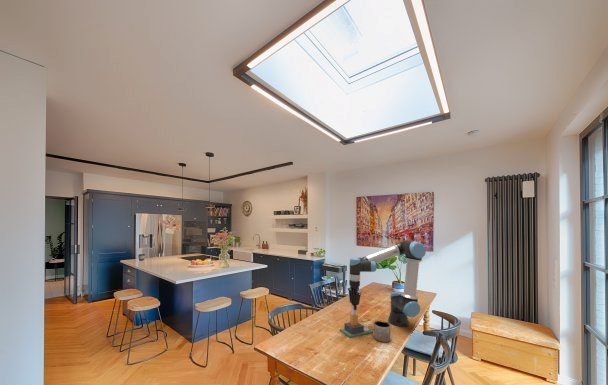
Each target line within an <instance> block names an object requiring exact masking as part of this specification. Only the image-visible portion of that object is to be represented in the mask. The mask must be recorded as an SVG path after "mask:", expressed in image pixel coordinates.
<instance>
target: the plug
mask: <svg viewBox="0 0 608 385" xmlns="http://www.w3.org/2000/svg"><path fill="white" fill-rule="evenodd" d="M349 322H350V325H351V326H352V327H353V326H358V323H359V315H358V314H357V313H356V314H355V315H353V314H352V313H350V316H349Z"/></svg>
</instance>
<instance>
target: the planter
mask: <svg viewBox="0 0 608 385" xmlns="http://www.w3.org/2000/svg"><path fill="white" fill-rule="evenodd" d="M373 338H374V339H375V340H376V341H377V342H381V343H389V342H390V341H391V323H390V322H386V321H384V320H377V321H376V320H375V321H374V322H373Z"/></svg>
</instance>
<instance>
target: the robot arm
mask: <svg viewBox="0 0 608 385" xmlns="http://www.w3.org/2000/svg"><path fill="white" fill-rule="evenodd" d="M426 251H427V249H426V247H425V246H424V244H423V243H421V242H419V241H414V240H408V239H406V240H402V241H399V242H396V243H393V244H392V246H390V247H387V248H386V247H385V248H384V249H381V250H378V251H376V252H373V253H370V254H368V255H366V256H363V257H351V258H350V259H349V280H348V281H349V287H348V288H347V291H348V298H349V303H350V304H351V314H353V315H355V314H357V310H358V307H357V306H359V305H360V300H361V296H362V291H360V286H361V281H360V280H361V273H362V272H363V273H366V272H367V273H375V272H376V271H377V268H378V267H377V263H380V262H382V261H385V260H388V259H391V258H393V257H395V256H397V257H399V256H404V258H405V259H406V266H405V276H404V286H403V291H391V293H390V312H389V316H388V323H389V324H390V325H394V326H396V327H407V326H409V324H410V320H409V318H415V317H417V316H418V315H419V314H420V313H421V306H420V304H419V300H418V299H419V298H418V296H417V288H418V279H419V278H418V277H419V270H420V269H419V268H420V262H422V260H423V258H424V257H425V256H426V254H427V253H426ZM408 317H409V318H408Z"/></svg>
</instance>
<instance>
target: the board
mask: <svg viewBox="0 0 608 385" xmlns="http://www.w3.org/2000/svg"><path fill="white" fill-rule="evenodd" d="M339 332H341V333H342V334H344V336H346V337H347V338H349V339H352V338H357V337H361V336H366V335H372V334H374V330H371V329H370V328H368V327H367V326H365V325H363V324H362V323H359V322H358V326H353V327H352V326H351V325H350V321H349V322H344V327H342V328H339Z"/></svg>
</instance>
